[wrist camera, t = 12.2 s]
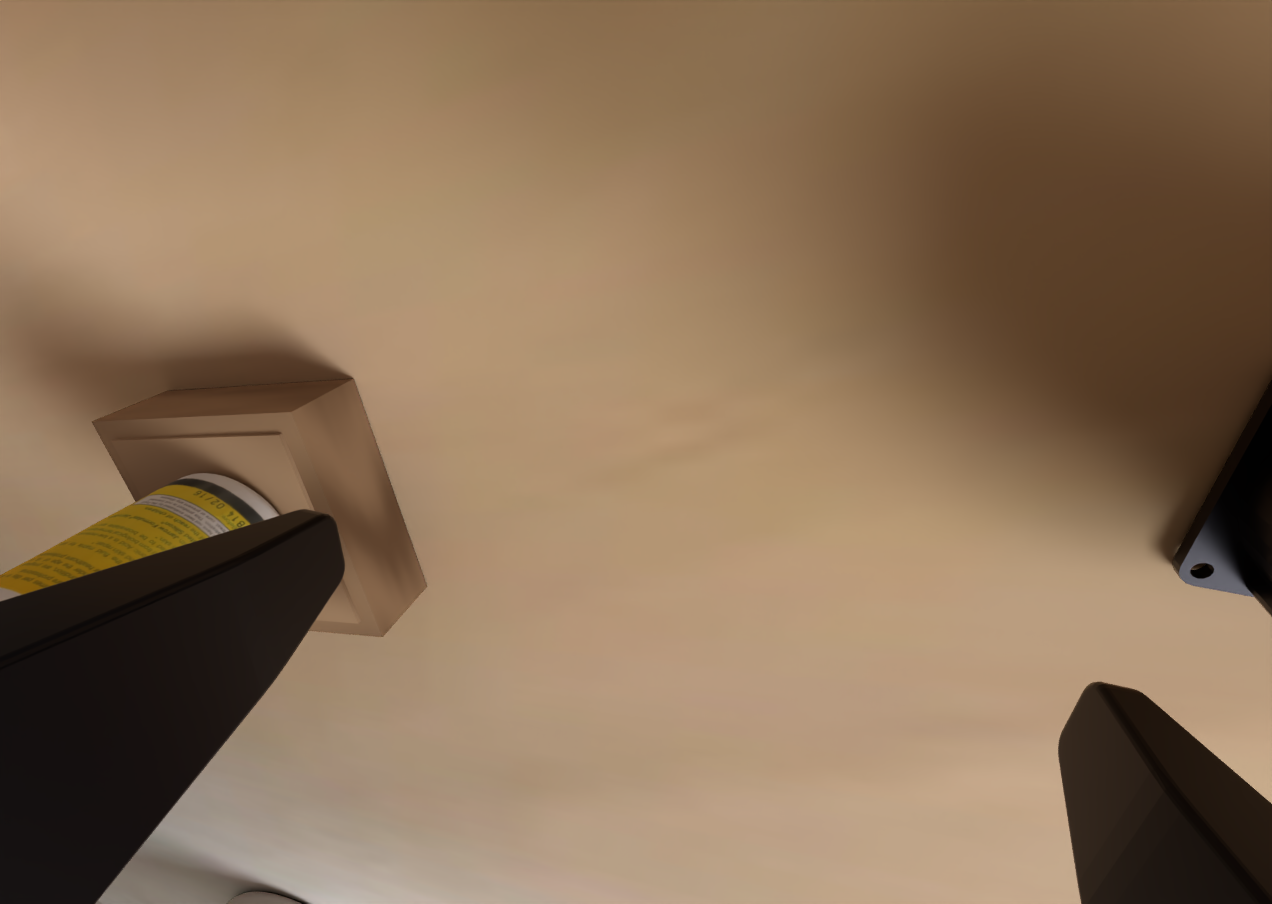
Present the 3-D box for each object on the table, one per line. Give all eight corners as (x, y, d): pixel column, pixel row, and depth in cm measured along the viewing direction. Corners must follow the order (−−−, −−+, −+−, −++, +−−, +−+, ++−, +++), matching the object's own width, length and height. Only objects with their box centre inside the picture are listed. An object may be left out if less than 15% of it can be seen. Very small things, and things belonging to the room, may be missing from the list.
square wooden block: (426, 586, 26) (380, 639, 24) (257, 577, 29) (198, 624, 26) (353, 379, 23) (287, 414, 20) (167, 391, 25) (87, 423, 23)
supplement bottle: (164, 447, 22) (-248, 647, 14) (301, 496, 21) (-48, 739, 13) (188, 566, 25) (-144, 794, 16) (311, 613, 24) (27, 878, 16)
